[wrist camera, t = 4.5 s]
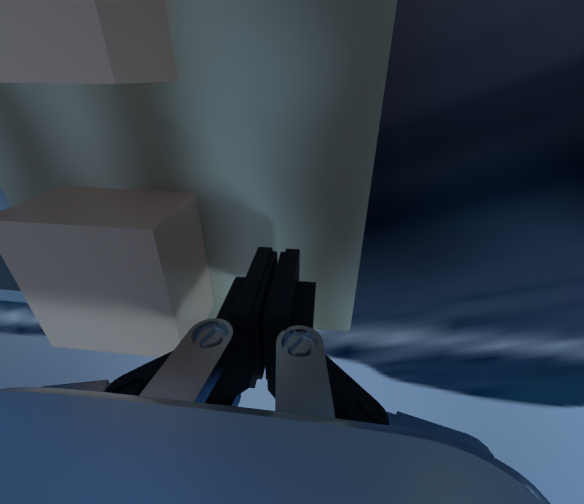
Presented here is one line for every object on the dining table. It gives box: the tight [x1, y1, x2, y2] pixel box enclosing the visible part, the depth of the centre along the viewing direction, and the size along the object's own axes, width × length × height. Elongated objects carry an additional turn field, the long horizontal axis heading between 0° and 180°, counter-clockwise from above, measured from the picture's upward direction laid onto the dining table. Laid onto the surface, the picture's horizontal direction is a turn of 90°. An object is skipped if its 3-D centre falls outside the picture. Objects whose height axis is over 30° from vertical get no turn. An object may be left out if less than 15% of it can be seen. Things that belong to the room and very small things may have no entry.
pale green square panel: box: [0, 0, 397, 332], centre depth 14 cm, size 16×18×5 cm
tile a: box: [0, 186, 214, 357], centre depth 13 cm, size 6×6×4 cm
